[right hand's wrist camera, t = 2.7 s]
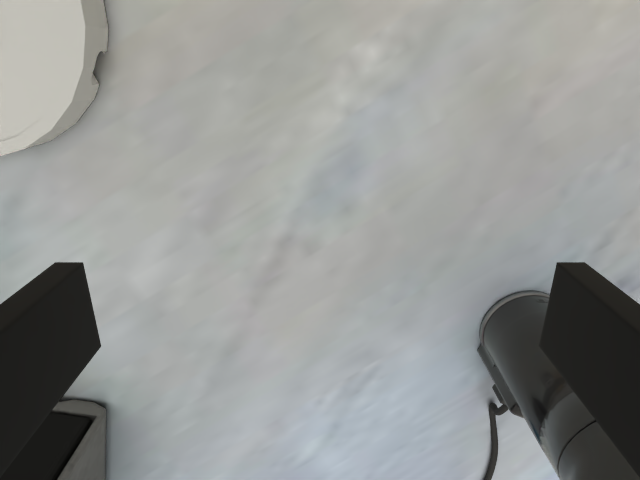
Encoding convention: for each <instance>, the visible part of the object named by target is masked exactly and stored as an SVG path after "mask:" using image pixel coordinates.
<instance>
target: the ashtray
mask: <svg viewBox="0 0 640 480" xmlns="http://www.w3.org/2000/svg"><path fill="white" fill-rule="evenodd" d="M108 30H109V29H108V23H107V18H106V12H105V6H104V0H0V156H3V155H6V154H9V153H13V152H16V151H19V150H23V149H26V148H29V147H32V146H36V145H39V144H42V143H46V142H49V141H52V140H53V139H54V138H56V137H57V136H59V135H60V134H62V133H63V132H64V131H66V130H67V129H69V128H70V127H72V126H73V125H74V124H76V123H77V121H78V120H79V119H80V117H81V116H82V115H83V113H84V112H85V111H86V109H87V108H88V107H89V105H90V104H91V103H92V101H93V100H94V99H95V96H96V93H97V90H98V88H99V83H98V81H97V80H96V78H95V76H94V74H93V70H94V68H95V63H96V59H97V56H98V54H99V52H101V51H102V52H103V53H104V54H105V52H107V44H108Z"/></svg>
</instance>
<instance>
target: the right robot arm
mask: <svg viewBox="0 0 640 480" xmlns="http://www.w3.org/2000/svg"><path fill="white" fill-rule="evenodd" d="M100 347H101V344H100V339H99V334H98V330H97V325H96V320H95V316H94V311H93V307H92V302H91V297H90V293H89V288H88V283H87V279H86V274H85V270H84V265H83V263H54V264H53V265H51V266H50V267H49V268H47V269H46V270H45V271H44V272H42V273H41V274H40V275H38V276H37V277H36V278H34V279H33V280H32V281H30V282H29V283H28V284H27V285H25V286H24V287H23V288H21V289H20V290H19V291H17V292H16V293H15V294H13V295H12V296H11V297H10V298H8V299H7V300H6V301H4V302H3V303H2V304H0V478H1V476H2V475H3V474H4V472H5V471H6V470H7V468H8V467H9V466H10V464H11V463H12V462H13V461H14V459H15V458H16V457H17V455H18V454H19V453H20V451H21V450H22V449H23V447H24V446H25V445H26V444H27V442H28V441H29V440H30V438H31V437H32V436H33V434H34V433H35V432H36V430H37V429H38V428H39V427H40V425H41V424H42V423H43V421H44V420H45V419H46V417H47V416H48V415H49V414H50V412H51V411H52V410H53V408H54V407H55V406H56V404H57V403H58V402H59V400H60V399H61V398H62V397H63V395H64V394H65V393H66V391H67V390H68V389H69V387H70V386H71V385H72V383H73V382H74V381H75V380H76V378H77V377H78V376H79V374H80V373H81V372H82V370H83V369H84V368H85V366H86V365H87V364H88V363H89V361H90V360H91V359H92V357H93V356H94V355H95V353H96V352H97V351H98V350H99V348H100ZM539 347H540V348H541V350H542V351H543V352H544V353H545V355H546V356H547V357H548V359H549V360H550V361H551V363H552V364H553V365H554V366H555V368H556V369H557V370H558V372H559V373H560V374H561V376H562V377H563V378H564V380H565V381H566V382H567V383H568V385H569V386H570V387H571V389H572V390H573V391H574V393H575V394H576V395H577V397H578V398H579V399H580V400H581V402H582V403H583V404H584V406H585V407H586V408H587V410H588V411H589V412H590V414H591V415H592V416H593V417H594V419H595V420H596V421H597V423H598V424H599V425H600V427H601V428H602V429H603V430H604V432H605V433H606V434H607V436H608V437H609V438H610V440H611V441H612V442H613V444H614V445H615V446H616V447H617V449H618V450H619V451H620V453H621V454H622V455H623V457H624V458H625V459H626V461H627V462H628V463H629V464H630V466H631V467H632V468H633V470H634V471H635V472H636V474H637V475H638V476H639V478H640V304H638V303H637V302H636V301H634V300H633V299H632V298H630V297H629V296H628V295H627V294H625V293H624V292H623V291H621V290H620V289H619V288H617V287H616V286H615V285H613V284H612V283H611V282H610V281H608V280H607V279H606V278H604V277H603V276H602V275H600V274H599V273H598V272H596V271H595V270H594V269H593V268H591V267H590V266H589V265H587V264H586V263H557V265H556V270H555V274H554V279H553V283H552V288H551V293H550V297H549V302H548V307H547V311H546V316H545V320H544V325H543V330H542V334H541V339H540V343H539Z"/></svg>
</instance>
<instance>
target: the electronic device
mask: <svg viewBox="0 0 640 480" xmlns="http://www.w3.org/2000/svg"><path fill="white" fill-rule="evenodd" d="M105 466H106V409H105V408H103V407H102V406H100V405H98V404H96V403H94V402H88V401H81V400H69V401H63V402H58V403H57V404H56V406H55V407H54V408H53V410H52V411H51V412H50V414H49V415H48V416H47V417H46V419H45V420H44V421H43V423H42V424H41V425H40V427H39V428H38V429H37V430H36V432H35V433H34V434H33V436H32V437H31V438H30V440H29V441H28V442H27V444H26V445H25V446H24V447H23V449H22V450H21V451H20V453H19V454H18V455H17V457H16V458H15V459H14V461H13V462H12V463H11V464H10V466H9V467H8V468H7V470H6V471H5V472H4V474H3V475H2V476H1V478H0V480H105Z"/></svg>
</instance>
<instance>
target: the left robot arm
mask: <svg viewBox="0 0 640 480" xmlns="http://www.w3.org/2000/svg"><path fill="white" fill-rule="evenodd" d="M549 297H550V295H548V294H546V293H542V292H537V291H525V292H519V293H515V294H512V295H510V296H508V297H506V298H504V299H502V300H500V301H499V302H498V303H496V304H495V305H494V306H493V307H492V308H491V309H490V310H489V311H488V313H487V314H486V316H485V317H484V319H483V321H482V324H481V328H480V340H481V345H480V347H479V348H478V350H477V351H478V353H479V355H480V357H481V359H482V361H483V362H484V364H485V366H486V368H487V370H488V372H489V374H490V375H491V377H492V379H493V381H494V383H495V384H494V386H493V387H492V388H493V390H494V392H495V394H496V396H497V397H498V399H499V401H500V403H502V404H503V405H502V406H501V407H499V408H497V405H496V404H495V403H491V404H490V406H489V416H490V426H491V439H492V453H491V459H490V464H489V468H488V471H487V474H486V477H485V479H484V480H491V478H492V476H493V473H494V469H495V466H496V461H497V455H498V437H497V428H496V420H495V415H501V414H503V413H504V412H506V411H507V410H508V409H509V410H510V412H511V413H513V414H514V415H517V416H519V417H522V418H524V419H525V420H526V422H527V424H528V425H529V427H530V429H531V431H532V432H533V434H534V436H535V438H536V439H537V441H538V443H539V444H540V446H541V448H542V450H543V451H544V453H545V455H546V456H547V458H548V460H549V462H550V463H551V465H552V467H553V469H554V470H555V472H556V474H557V476H558V477H559V479H560V480H640V478H639V476H638V475H637V474H636V472H635V471H634V470H633V468H632V467H631V466H630V464H629V463H628V462H627V461H626V459H625V458H624V457H623V455H622V454H621V453H620V451H619V450H618V449H617V447H616V446H615V445H614V444H613V442H612V441H611V440H610V438H609V437H608V436H607V434H606V433H605V432H604V430H603V429H602V428H601V427H600V425H599V424H598V423H597V421H596V420H595V419H594V417H593V416H592V415H591V414H590V412H589V411H588V410H587V408H586V407H585V406H584V404H583V403H582V402H581V400H580V399H579V398H578V397H577V395H576V394H575V393H574V391H573V390H572V389H571V387H570V386H569V385H568V383H567V382H566V381H565V380H564V378H563V377H562V376H561V374H560V373H559V372H558V370H557V369H556V368H555V366H554V365H553V364H552V363H551V361H550V360H549V359H548V357H547V356H546V355H545V353H544V352H543V351H542V350H541V348H540V347H539V343H540V339H541V334H542V330H543V325H544V320H545V316H546V311H547V307H548V302H549Z"/></svg>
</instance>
